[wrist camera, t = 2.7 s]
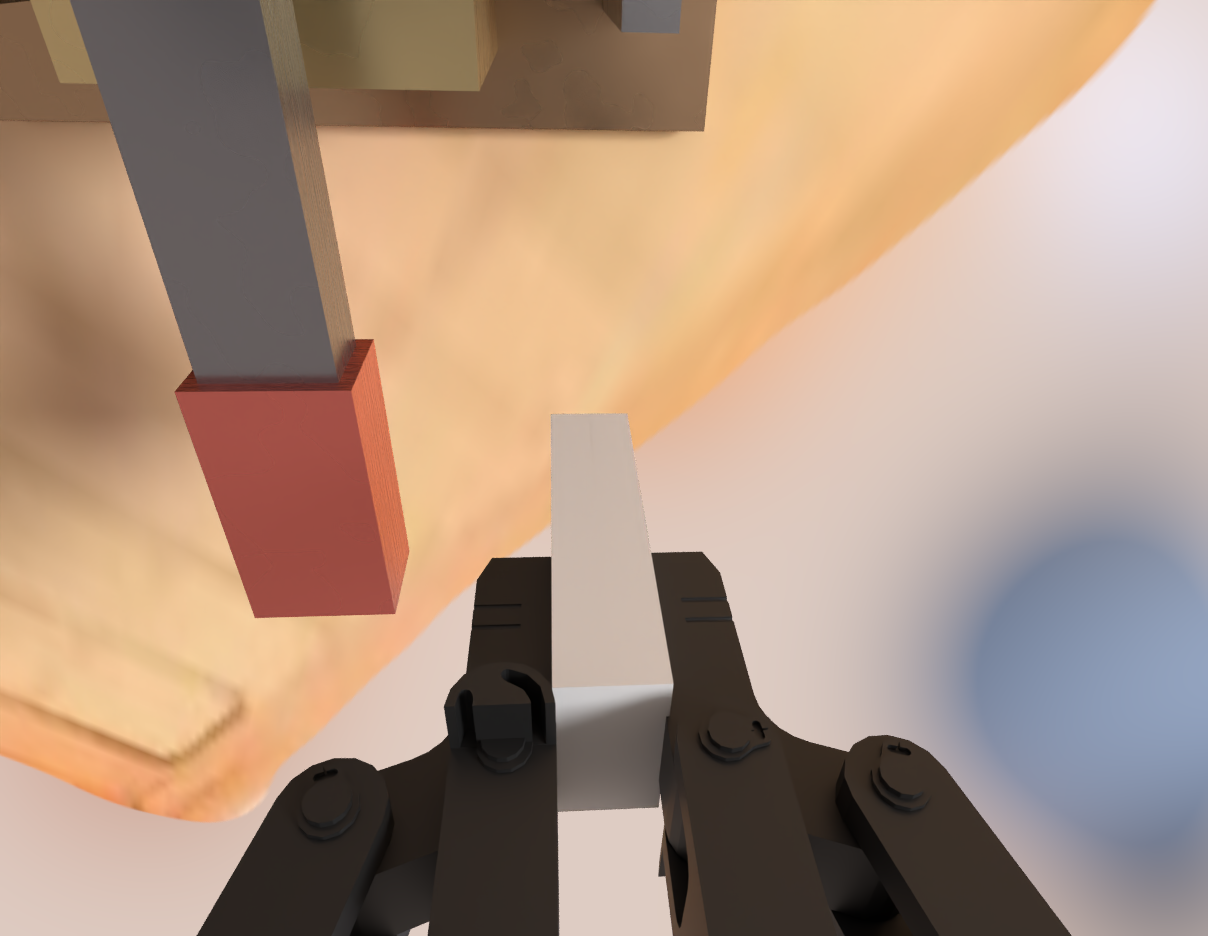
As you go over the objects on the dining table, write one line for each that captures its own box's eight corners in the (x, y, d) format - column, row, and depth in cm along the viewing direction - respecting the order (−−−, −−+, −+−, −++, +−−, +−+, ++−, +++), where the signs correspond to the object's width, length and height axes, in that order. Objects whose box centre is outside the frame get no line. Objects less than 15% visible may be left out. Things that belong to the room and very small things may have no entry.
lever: (-47, -423, 9) (-189, -511, 7) (279, -403, 10) (217, -482, 8) (266, 554, 19) (237, 618, 17) (425, 550, 19) (412, 613, 17)
